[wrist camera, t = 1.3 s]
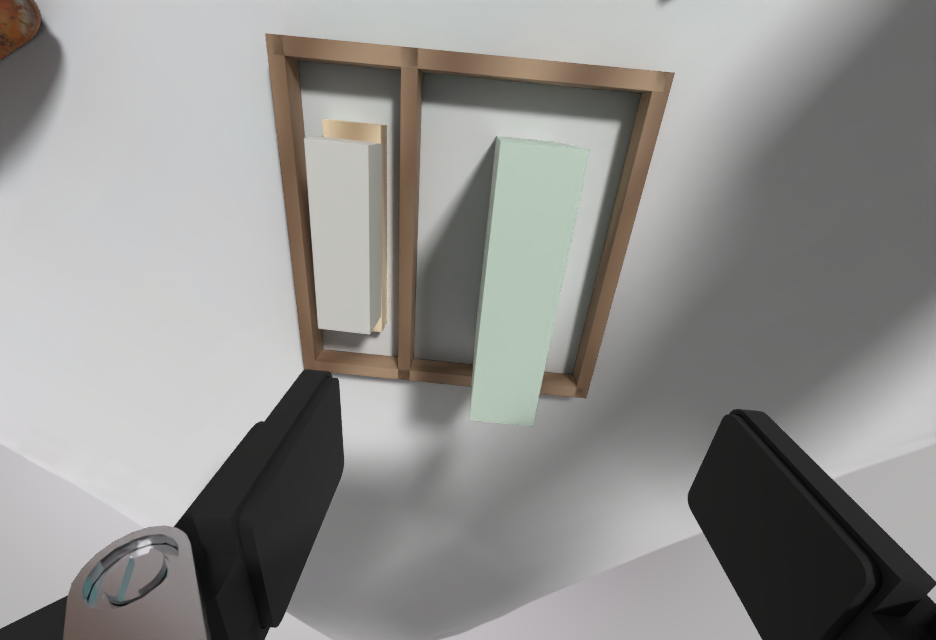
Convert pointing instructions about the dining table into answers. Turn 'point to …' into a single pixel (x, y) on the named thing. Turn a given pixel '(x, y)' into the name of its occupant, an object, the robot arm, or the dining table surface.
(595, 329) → the rack
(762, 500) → the robot arm
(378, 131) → the pine offcut
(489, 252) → the sage panel
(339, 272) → the grey offcut
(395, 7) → the dining table surface
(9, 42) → the tin
